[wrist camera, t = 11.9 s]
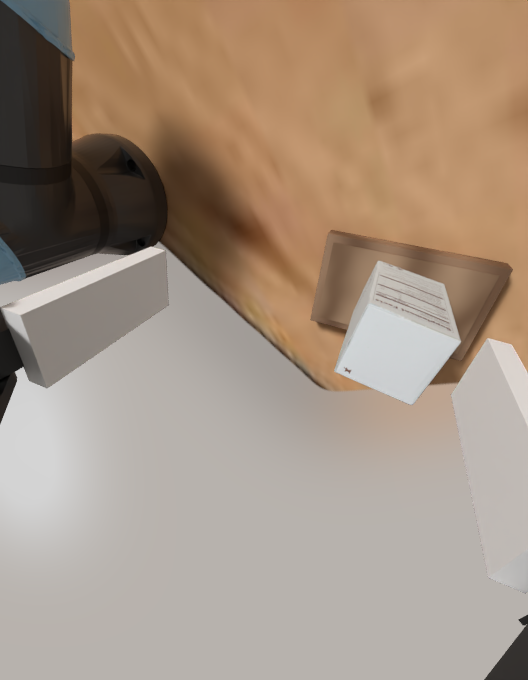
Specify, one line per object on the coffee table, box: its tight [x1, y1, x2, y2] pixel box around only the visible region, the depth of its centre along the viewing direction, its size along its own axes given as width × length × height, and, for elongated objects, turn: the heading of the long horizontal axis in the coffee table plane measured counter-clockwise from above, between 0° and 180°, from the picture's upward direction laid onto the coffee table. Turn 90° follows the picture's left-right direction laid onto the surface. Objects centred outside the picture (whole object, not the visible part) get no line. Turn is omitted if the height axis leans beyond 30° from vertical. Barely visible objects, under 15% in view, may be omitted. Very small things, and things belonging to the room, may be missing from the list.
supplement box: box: [334, 261, 461, 405], centre depth 30 cm, size 7×7×13 cm
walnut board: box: [310, 230, 513, 361], centre depth 36 cm, size 18×11×2 cm, turn 83°
